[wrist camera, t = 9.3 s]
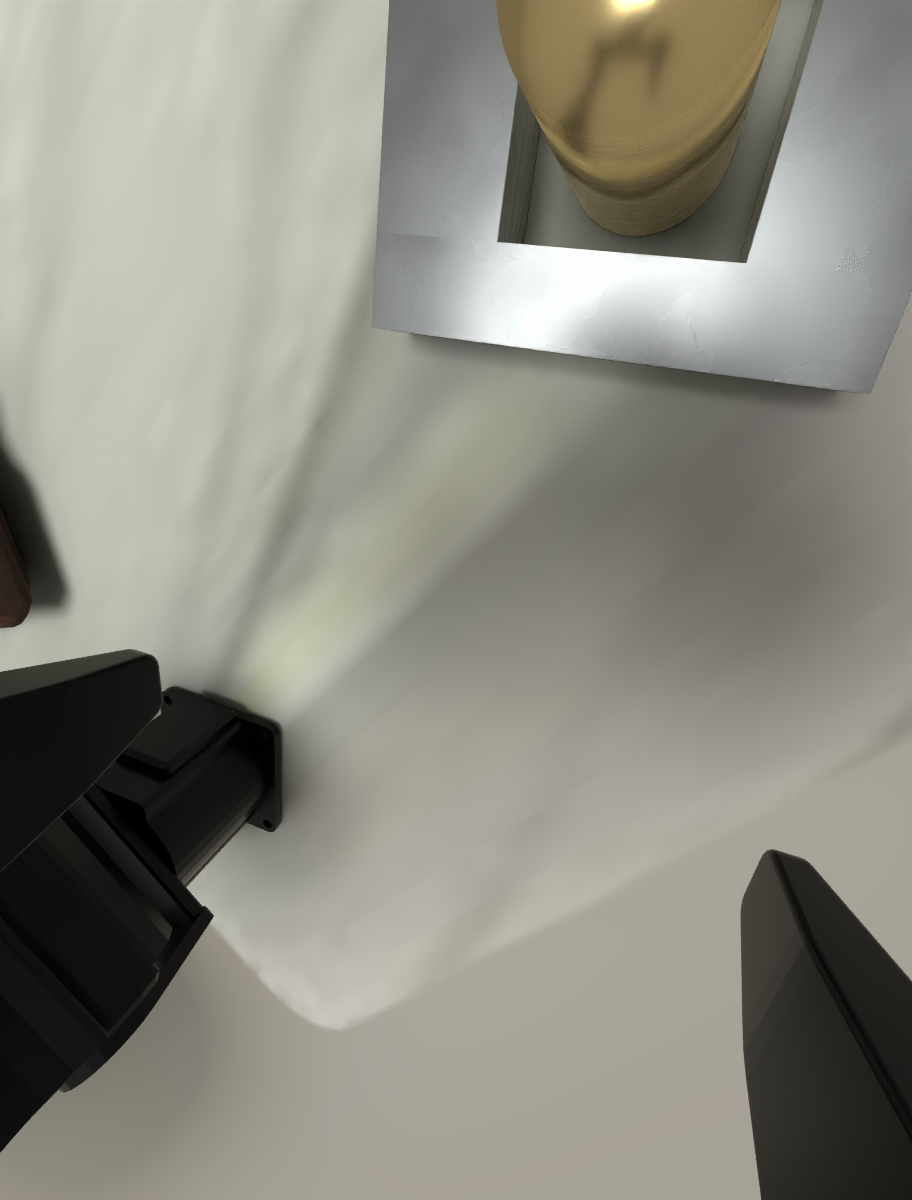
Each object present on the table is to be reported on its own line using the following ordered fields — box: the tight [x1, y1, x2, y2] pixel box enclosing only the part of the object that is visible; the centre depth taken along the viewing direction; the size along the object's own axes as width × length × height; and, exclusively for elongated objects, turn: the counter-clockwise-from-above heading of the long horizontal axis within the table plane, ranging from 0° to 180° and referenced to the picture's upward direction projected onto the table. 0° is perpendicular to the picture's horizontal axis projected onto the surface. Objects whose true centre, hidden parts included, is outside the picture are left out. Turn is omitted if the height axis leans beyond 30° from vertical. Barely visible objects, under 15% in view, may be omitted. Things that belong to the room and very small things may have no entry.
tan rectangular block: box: [496, 0, 781, 236], centre depth 11 cm, size 4×4×7 cm
